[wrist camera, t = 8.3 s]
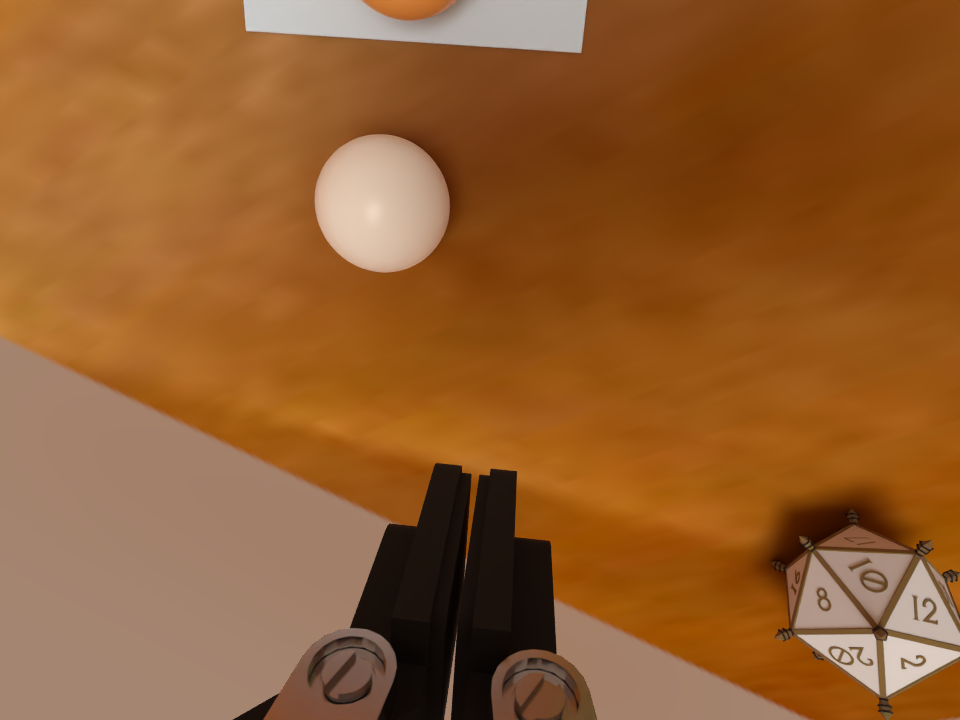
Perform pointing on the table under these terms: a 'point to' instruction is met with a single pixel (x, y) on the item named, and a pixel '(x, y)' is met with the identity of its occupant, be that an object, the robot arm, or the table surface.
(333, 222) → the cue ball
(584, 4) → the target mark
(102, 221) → the table surface
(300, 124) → the table surface
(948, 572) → the game die
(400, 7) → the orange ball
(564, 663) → the robot arm
